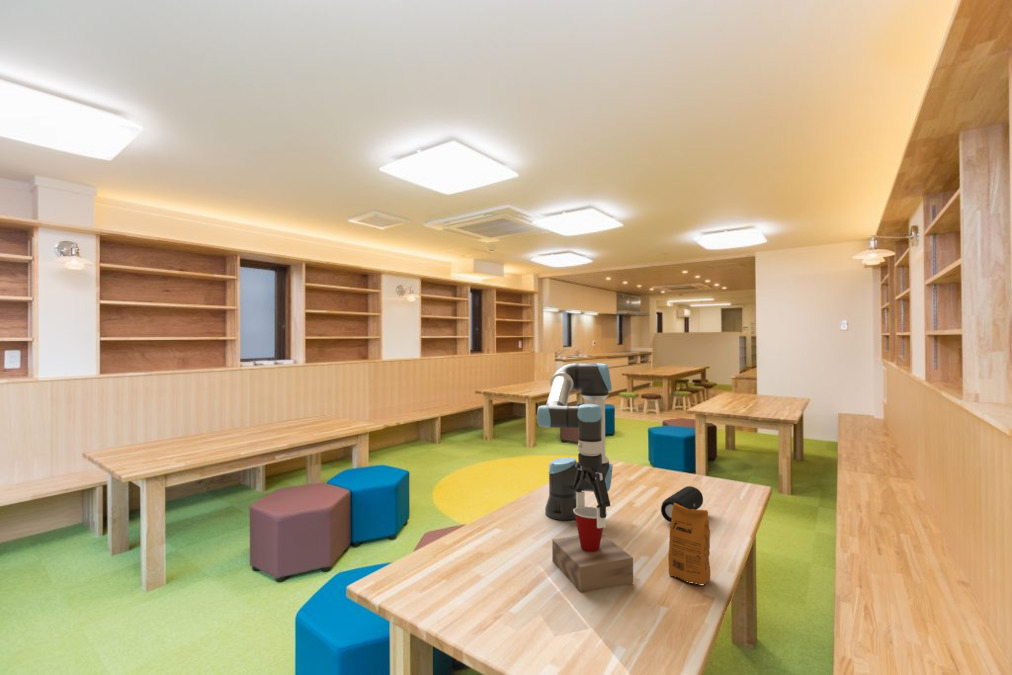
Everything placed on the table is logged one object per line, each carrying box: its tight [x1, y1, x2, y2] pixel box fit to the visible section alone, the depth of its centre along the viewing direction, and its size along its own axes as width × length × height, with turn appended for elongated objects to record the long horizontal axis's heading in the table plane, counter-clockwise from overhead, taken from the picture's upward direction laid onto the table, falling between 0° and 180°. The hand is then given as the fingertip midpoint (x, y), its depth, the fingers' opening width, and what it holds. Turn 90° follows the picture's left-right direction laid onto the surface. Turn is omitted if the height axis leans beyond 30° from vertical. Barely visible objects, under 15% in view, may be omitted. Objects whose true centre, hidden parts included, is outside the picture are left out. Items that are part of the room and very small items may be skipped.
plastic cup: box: [573, 506, 608, 552], centre depth 146 cm, size 11×11×12 cm
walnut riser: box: [551, 533, 634, 593], centre depth 146 cm, size 20×18×8 cm
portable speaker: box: [660, 485, 704, 523], centre depth 194 cm, size 26×10×10 cm, turn 138°
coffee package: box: [667, 503, 711, 585], centre depth 144 cm, size 10×12×22 cm
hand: (590, 519), depth 146 cm, fingers open, 13 cm apart
